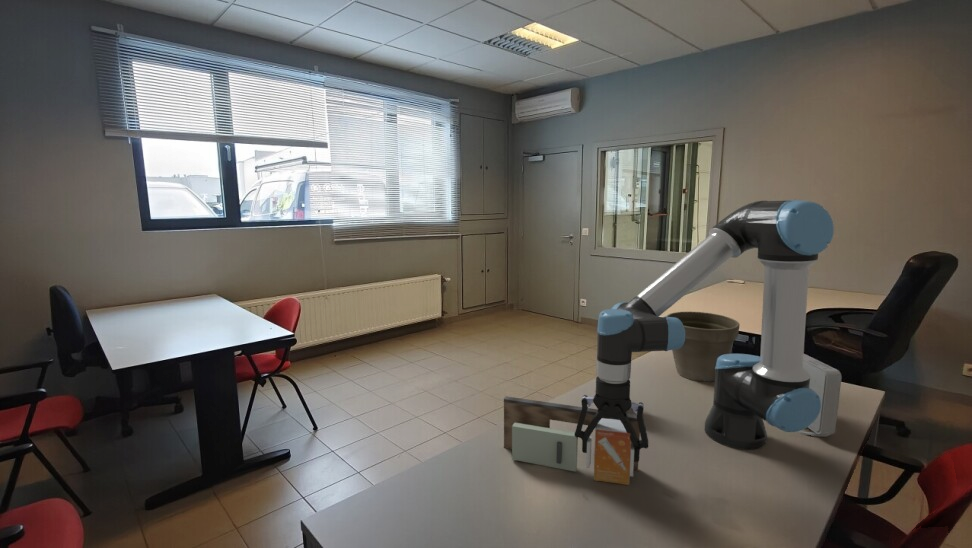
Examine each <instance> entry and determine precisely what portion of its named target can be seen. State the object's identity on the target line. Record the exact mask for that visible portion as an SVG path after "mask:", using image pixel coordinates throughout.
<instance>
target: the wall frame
mask: <svg viewBox="0 0 972 548" xmlns="http://www.w3.org/2000/svg"><path fill="white" fill-rule="evenodd" d="M581 410H582V406H575V405H570V404H562V403H555V402H549V401H542V400H541V401H540V400H535V399H533V400H532V399H527V398H519V397H513V396H504V398H503V448H504V449H511V450H512V426H513V424H514V423H521V424H527V425H533V426H539V427H545V428H551V421H556V422H557V421H558V422H562V423H563V422H564V423H570V424H576V425H577V424H578V421H579V417H580V414H581ZM597 411H598V408H591V407H588V409H587V412H586V416H585V419H584V423H583V426H588V425H589V424H590V422H591V420H592V419H593V417H594V416H595V414H596V413H597ZM627 415H628V418H629V420H630V422H631V425H632V427H633V429H634V431H635V433H636V435H637V437H638V439H639V440H641V435H640V431H639V426H638V421H637V414H634V413H627ZM602 418H605V419H615V418H612V417H604V416H603V417H602ZM617 420H620V418H618V419H617ZM631 444H632V442H631ZM633 472H635V473H636V472H637V473H638V472H639V462H635V461H634V467H633Z"/></svg>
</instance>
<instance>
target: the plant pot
mask: <svg viewBox="0 0 972 548" xmlns="http://www.w3.org/2000/svg"><path fill="white" fill-rule="evenodd" d="M666 316H667V317H675V318H678V319H679V320H680V321H681V322H682V324H683V326H684V329H685V342H684V344H683V346H682V347H681V348H679V349H676V350H671V352H672V356H673V359H674V365H675V369H676V372H677V374H678V375H679V376H681V377H683V378H685V379H688V380H691V381H697V382H715V367H716V363H717V359H718V357H720V356H721V355H724V354H730V352H731V350H732V347H733V344H734V341H735V340H737V339H738V336H739V331H740V322H739V321H738V320H736V319H734V318H731V317H728V316H725V315H721V314H717V313H711V312H704V311H702V312H701V311H677V312H672V313H669V314H667V315H666Z"/></svg>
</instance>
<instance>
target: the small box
mask: <svg viewBox="0 0 972 548" xmlns="http://www.w3.org/2000/svg"><path fill="white" fill-rule="evenodd" d="M630 435H631V434H630V433H627V432H626V430H625V428H624V425H623V424H622V423H621V421H620V420H617V419H605V418H602V419H601V420H600V421H599V423H598V424H597V426H596V427H595V429H594V451H593V452H594V453H593V458H594V460H593V480H594V481H597V482H605V483H613V484H620V485H626V486H629V485H630V478H631V476H630V456H631V440H630Z"/></svg>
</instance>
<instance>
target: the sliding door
mask: <svg viewBox="0 0 972 548" xmlns="http://www.w3.org/2000/svg"><path fill="white" fill-rule="evenodd" d="M578 443H579V437H575V431H570V430H563V429H557V428H551V427H550V428H545V427H539V426H533V425H527V424H521V423H514V424H513V426H512V449H511V459H512V460H513V461H517V462H518V461H519V462H523V463H524V462H525V463H529V464H534V465H539V466H545V467H548V468H549V467H550V468H555V469H560V470H565V471H570V472H577V469H578V451H579V450H578V448H579V447H578V445H579V444H578Z"/></svg>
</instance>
